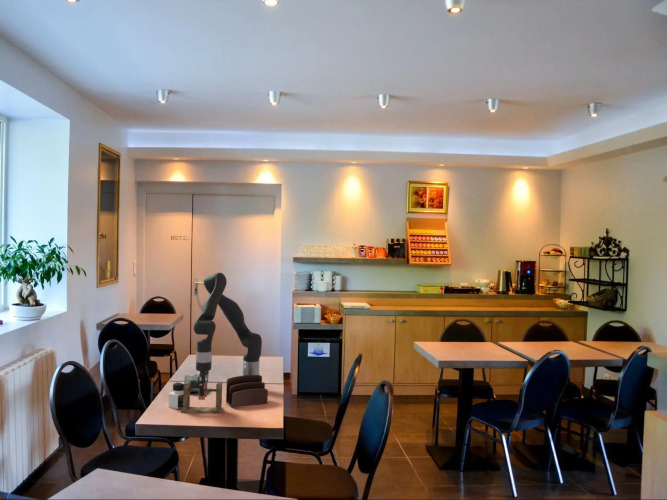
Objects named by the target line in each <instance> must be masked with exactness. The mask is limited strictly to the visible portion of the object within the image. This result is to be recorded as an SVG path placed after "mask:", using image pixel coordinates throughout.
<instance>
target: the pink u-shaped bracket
mask: <svg viewBox="0 0 667 500" xmlns="http://www.w3.org/2000/svg"><path fill="white" fill-rule="evenodd" d="M200 386H202V384H201V385H200ZM204 387H205V388H204V396H199V393H198V395H197V396H198V397H197V398H198V401H199V400H201V401H205V400H206V398H208V391H205V389H208V384H207V382H206V384H205V385H204ZM199 389H200V388H199Z"/></svg>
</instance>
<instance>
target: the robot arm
mask: <svg viewBox="0 0 667 500" xmlns="http://www.w3.org/2000/svg"><path fill="white" fill-rule="evenodd" d="M227 281H228V280H227V278H226V275H225V274H224V273H222V272H216V273H213V274H211V275H208V276H205V277H204V278H203V286H204V288H205V290H206V291H207V293H208V294H209V295H208V297H207V298H206V300H205V301H204V302H203V306H202V308H201V312H200V315H199V316H198V317H197V318H196V320H195V322H194V324H193V332H194V333H195V334H196V335H203V336H205V335H206V336H207V337H205V338H201V339H198V340H197V342H196V343H197V344H196V356H195V357H196V358H195V370H196V371H198V372H199V374H198V376H199V377H198V388H200V389H199V393H198V394H199V396H204V388H205V387H204V385H205V384H206V382H207V385H208V383H209V373H210V371H211V370H212V361H213V360H212V359H213V357H212V356H213V355H212V354H213V353H212V345H213V344H212V343H213V338H214V336H215V335H214V334H215V332H216V327H217V326H216V322H215V321H213V320H214V319H215V317H216V313H217V308H218V307H219V308H220V310H221V311H222V313H223V315H224V316H225V317H226V320H227V321H228V323H229V324H230V325H231V327H232V328H233V330H234V332H235V333H236V335H237V337H238V339H239V341H240V343H241V345H242V346H243V347H244V348H247V353H246V354H244V355H243V356H242V357H243V358H242V360H243V362H242V376H243V375H260V357H261V354H262V348H263V347H262V346H263V345H262V344H263V341H262V337H261V334H259V333H256V332H252V331H251V329H249V328H248V326H247V325H246V322H245V316H244V312H243V310H242V309H241V307H240V305H239V304H238V303H237V302H236V301H234V300H233V299H231V298H229V297H227V296H226V295H224V292H225V289H226V286H227V284H228V283H227ZM201 384H202V386H200V385H201Z"/></svg>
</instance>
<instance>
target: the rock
mask: <svg viewBox="0 0 667 500" xmlns="http://www.w3.org/2000/svg"><path fill="white" fill-rule="evenodd" d="M198 377H199V374H198V373H197V374H194V375H192V376H190V375H188V374H185V376H184V380H183V383H185V382H186V381H190V389H199V388H198ZM193 392H194V393H198V394H199V391H190V393H193Z"/></svg>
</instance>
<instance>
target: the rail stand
mask: <svg viewBox="0 0 667 500" xmlns="http://www.w3.org/2000/svg"><path fill="white" fill-rule="evenodd" d="M183 383H184V382H183ZM190 391H193V392H194V391H199V389H190V381H186V382H185V383H184V395H183V408H181V409H180V413H184V414H186V413H188V414H189V413H191V414H193V413H194V414H222V413H223V411H224V409H225V408H224V407H222V405H223V404H222V403H223V402H222V401H223V398H222V397H223V381H218V382H217V383H216V387H215V388H207V389H205V391H207V392H211V393H212V392H214V393H215V406H210V407H209V406H191V403H190V402H191V392H190Z"/></svg>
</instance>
